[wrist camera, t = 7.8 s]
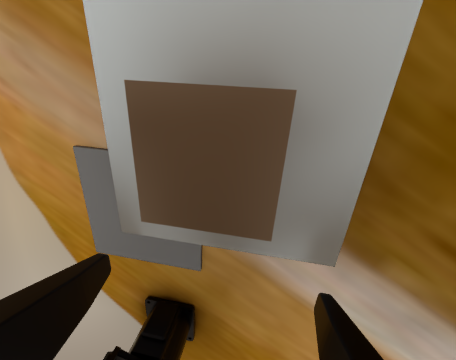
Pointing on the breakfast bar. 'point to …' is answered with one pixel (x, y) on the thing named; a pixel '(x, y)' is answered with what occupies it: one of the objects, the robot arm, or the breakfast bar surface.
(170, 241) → the mat
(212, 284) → the breakfast bar surface
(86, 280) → the robot arm
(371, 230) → the breakfast bar surface
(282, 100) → the lid
